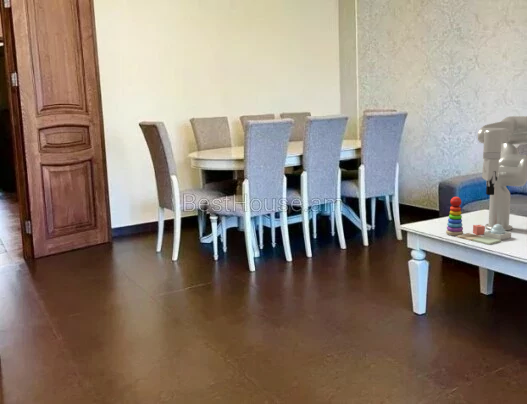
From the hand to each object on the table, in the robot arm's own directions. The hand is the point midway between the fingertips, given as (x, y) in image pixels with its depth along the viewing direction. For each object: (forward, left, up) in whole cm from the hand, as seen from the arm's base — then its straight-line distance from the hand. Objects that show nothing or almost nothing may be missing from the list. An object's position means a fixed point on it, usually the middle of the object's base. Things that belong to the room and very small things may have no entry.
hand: (490, 194), depth 256 cm
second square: (+9, -3, -20) cm, 23 cm away
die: (-6, -3, -20) cm, 22 cm away
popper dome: (+1, +4, -19) cm, 20 cm away
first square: (+2, -9, -20) cm, 22 cm away
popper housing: (+1, +4, -20) cm, 21 cm away
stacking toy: (-4, -15, -21) cm, 26 cm away
